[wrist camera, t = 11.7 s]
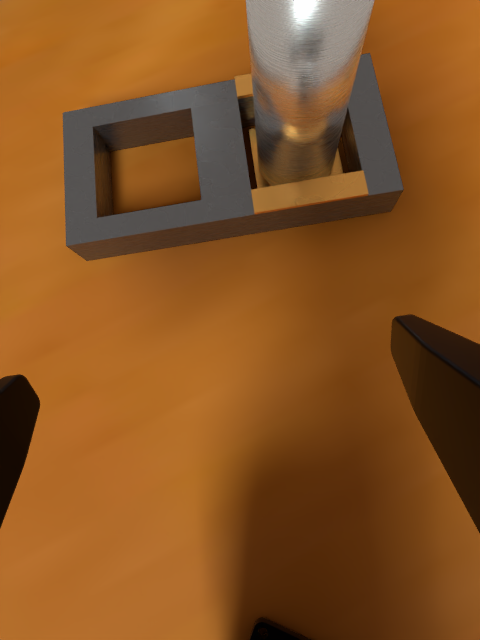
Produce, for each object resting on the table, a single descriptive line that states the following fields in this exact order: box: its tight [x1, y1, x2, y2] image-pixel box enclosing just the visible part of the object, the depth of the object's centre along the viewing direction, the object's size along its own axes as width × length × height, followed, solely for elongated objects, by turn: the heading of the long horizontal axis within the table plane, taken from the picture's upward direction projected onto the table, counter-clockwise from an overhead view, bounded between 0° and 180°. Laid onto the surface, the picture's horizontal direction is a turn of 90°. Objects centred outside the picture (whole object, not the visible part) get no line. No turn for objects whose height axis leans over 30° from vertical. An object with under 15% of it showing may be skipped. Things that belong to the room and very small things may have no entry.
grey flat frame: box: [63, 53, 404, 261], centre depth 24 cm, size 20×10×3 cm, turn 97°
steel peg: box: [246, 0, 374, 186], centre depth 19 cm, size 5×5×12 cm
